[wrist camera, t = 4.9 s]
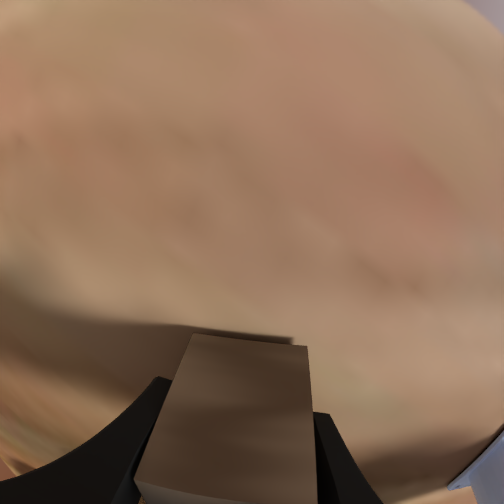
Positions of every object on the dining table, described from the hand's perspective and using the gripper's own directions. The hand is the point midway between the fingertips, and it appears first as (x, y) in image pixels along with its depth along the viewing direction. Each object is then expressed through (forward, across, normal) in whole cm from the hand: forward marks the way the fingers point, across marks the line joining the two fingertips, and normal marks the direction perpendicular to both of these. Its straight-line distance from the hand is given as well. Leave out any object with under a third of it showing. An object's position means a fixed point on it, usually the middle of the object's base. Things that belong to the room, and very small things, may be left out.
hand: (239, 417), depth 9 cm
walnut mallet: (+2, -1, +8) cm, 8 cm away
